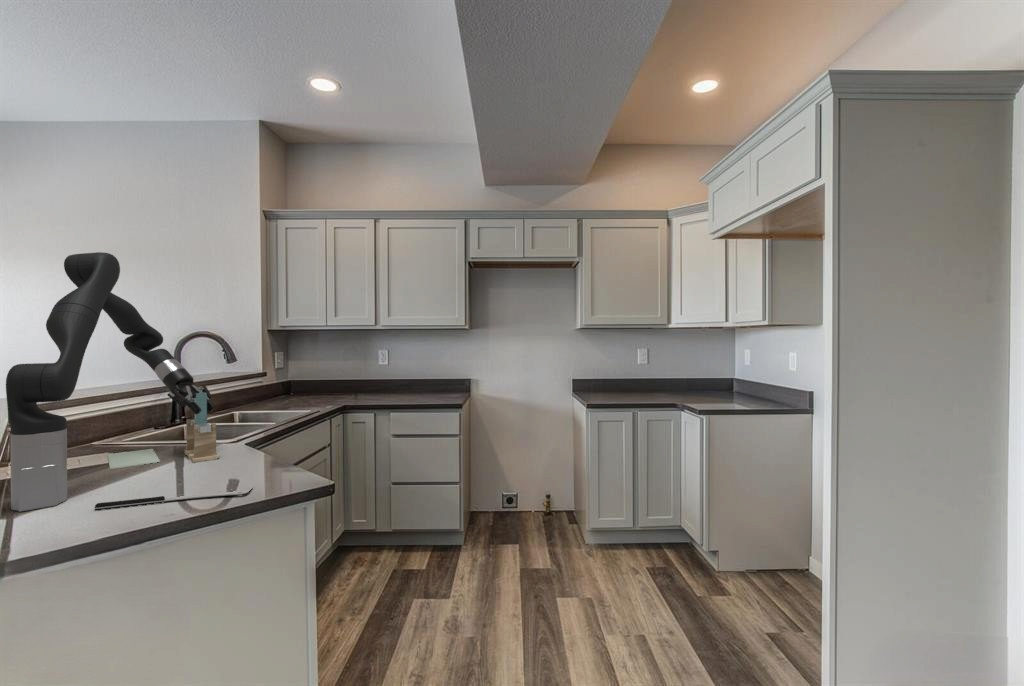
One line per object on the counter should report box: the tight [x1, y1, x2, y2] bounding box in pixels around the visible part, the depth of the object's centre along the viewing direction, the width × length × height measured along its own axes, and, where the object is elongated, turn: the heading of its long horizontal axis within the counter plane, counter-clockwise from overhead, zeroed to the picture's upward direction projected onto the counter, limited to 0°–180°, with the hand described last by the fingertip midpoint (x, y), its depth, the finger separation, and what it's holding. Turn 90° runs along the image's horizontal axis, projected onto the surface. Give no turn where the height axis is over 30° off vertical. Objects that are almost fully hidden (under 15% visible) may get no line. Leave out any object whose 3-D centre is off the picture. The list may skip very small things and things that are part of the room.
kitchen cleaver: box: [94, 490, 251, 511], centre depth 111 cm, size 31×2×10 cm
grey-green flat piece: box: [190, 392, 211, 433], centre depth 153 cm, size 18×3×12 cm, turn 43°
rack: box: [183, 418, 220, 464], centre depth 153 cm, size 19×7×12 cm, turn 43°
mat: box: [107, 448, 161, 471], centre depth 149 cm, size 24×12×1 cm, turn 43°
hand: (205, 411), depth 152 cm, fingers open, 5 cm apart
